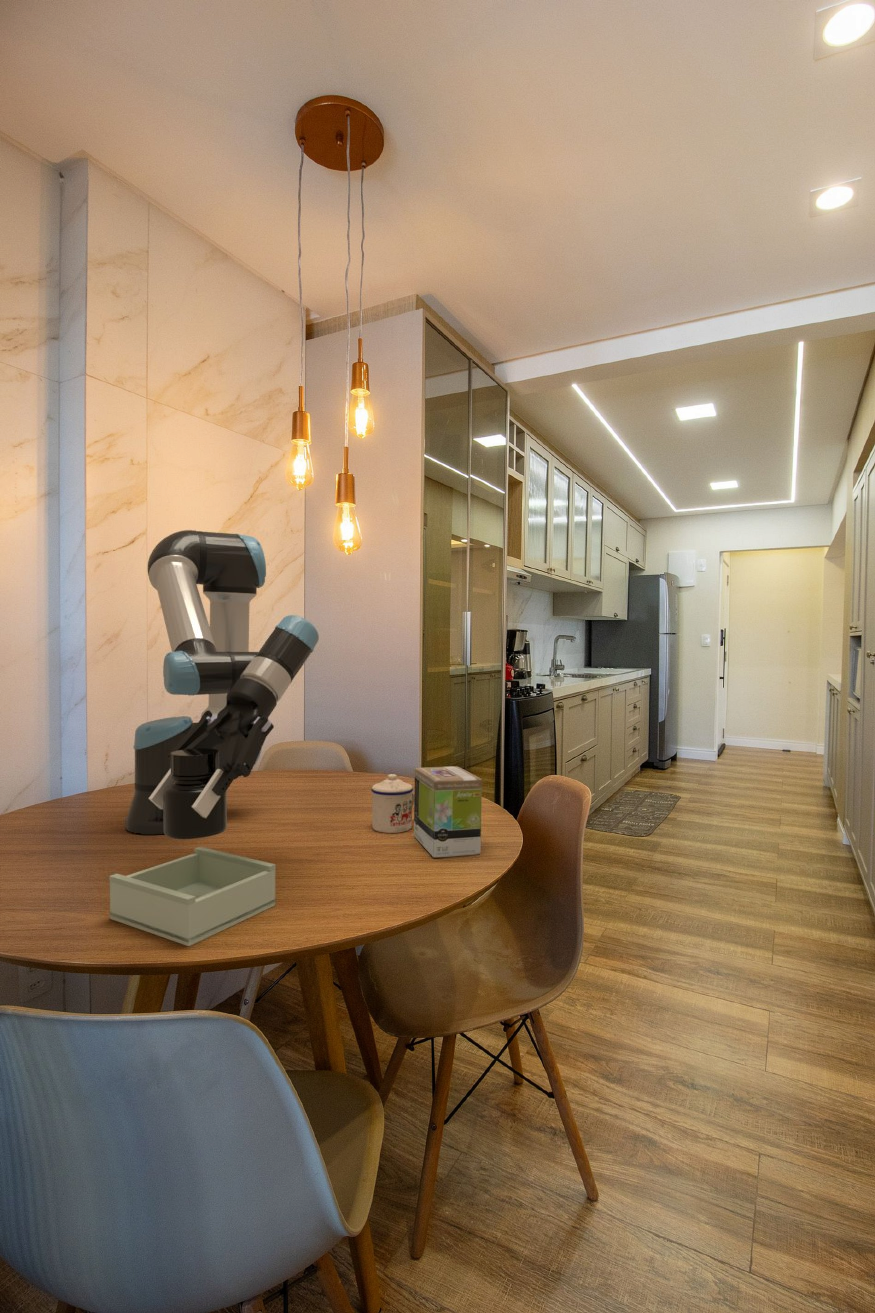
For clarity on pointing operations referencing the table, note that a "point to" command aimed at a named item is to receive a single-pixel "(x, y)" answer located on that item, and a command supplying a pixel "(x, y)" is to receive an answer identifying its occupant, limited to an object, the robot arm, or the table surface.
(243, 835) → the table surface
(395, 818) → the teacup with lid
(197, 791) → the ink bottle
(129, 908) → the tray
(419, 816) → the tea box
